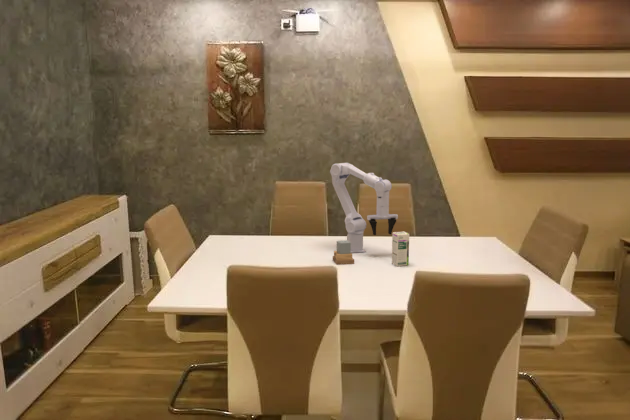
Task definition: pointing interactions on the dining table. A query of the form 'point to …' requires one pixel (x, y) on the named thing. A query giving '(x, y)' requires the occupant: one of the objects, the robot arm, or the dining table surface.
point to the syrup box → (400, 248)
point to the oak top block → (342, 256)
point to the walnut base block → (343, 261)
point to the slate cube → (344, 247)
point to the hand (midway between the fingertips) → (382, 234)
